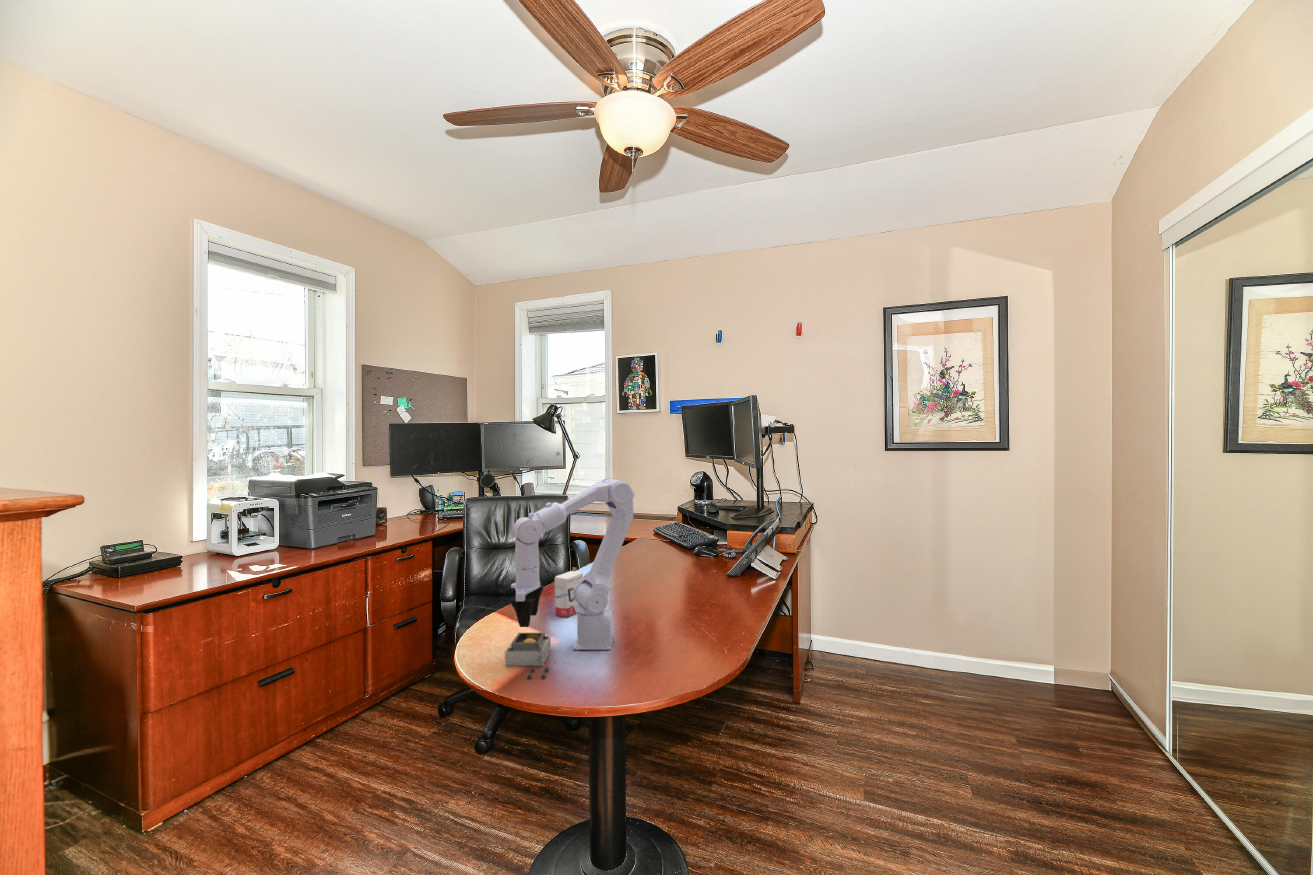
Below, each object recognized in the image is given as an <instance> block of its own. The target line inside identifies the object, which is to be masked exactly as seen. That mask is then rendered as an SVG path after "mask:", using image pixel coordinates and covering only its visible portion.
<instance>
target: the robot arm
mask: <svg viewBox="0 0 1313 875" xmlns="http://www.w3.org/2000/svg"><path fill="white" fill-rule="evenodd" d="M634 497H635V492H634V490H633V488H632V487H631V485H630V483H628V482H627V481H624V480H619V479H614V478H612V477H607V478H603V479H601V481H597V482H595V483H593V484H592V485H590V486H589V487H587V488H585V489H583V490H582V491H581V492H578V493H576V494H575V495H574V496H572V497H570V498H569V499H567V500H566V501H564V502H562V503H558V502H557V501H555V502H554V501H553V502H550V501H549V502H547V503H545V505H544V507H543V508H541V509H539V510H537V511H535V512H532V511H531V512H530V513H528V516H527V517H520V518H518V519H516V521H515V523H514V524H513V527H512V528H511V534H512V535H513V537H514V538H515V539H514V540H515V542H514V543H515V549H514V555H515V556H514V558H515V559H514V560H515V562H514V563H515V565H514V566H515V582H514V583H512V584H510V587H511V589H514V590H515V596H514V597H511V598H510V606H512V608H513V610H514V611H515V614H516V618H517V622H518V626H519V628H528V627H530V625H531V624H530V623H531V616H533V617H534V616H537V614H538V611H539V610H538V609H539V603H540V600H541V595H542V593H543V591H544V588H545V585H544V584H541V581H540V554H539V553H540V550H539V540H540V539H541V537H542V535H543V534H546V533H547V532H549V531H551V530H553V529H555V528H557V527H558V526H560V525H562V524H564V523H565V522H566V521H567V518H568V515H570V514H572V513H575V512H577V511H579V510H580V509H583V508H584V507H587V506H589V505H590V504H593V503H594V502H595V503H596V502H597V503H605V505H607V507H608V510H609V511H610V514H611V519H610V521H609V524H608V525H607V529H606V531H605V534H604V536H603V538H602V541H601V544H600V546H599V549H598V550H597V553H596V556H595V558H594V560H593V563H592V565H591V566H590V567H591V568H590V569H589V571H588V572H587V573H585V574H583V579H582V581H581V582H580V583H579V584H578V585H577V586H576V588H575V590H574V598H575V600H576V602H577V603H578V608H577V613H576V622H577V623H576V625H577V626H576V628H577V631H576V634H577V639H576V641H575V645H574V646H573V650H575V651H577V650H578V651H582V650H583V651H587V650H588V651H591V650H592V651H597V650H599V651H602V650H603V651H605V650H606V651H607V650H608V651H610V650H611V649H612V644H613V641H614V638H615V636H614V616H613V613H614V612H613V610H611V609H606V608H607V606H608V604H609V603H608V602H609V592H610V589H611V587H610V586H611V585H610V577H611V574H612V571H613V568H614V566H615V564H616V561H617V558H618V556H619V554H620V552H621V549H622V546H623V544H624V541H625V539H626V537H627V535H628V534H627V533H628V531H629V528H630V526H631V523H632V521H633V518H634Z"/></svg>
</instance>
